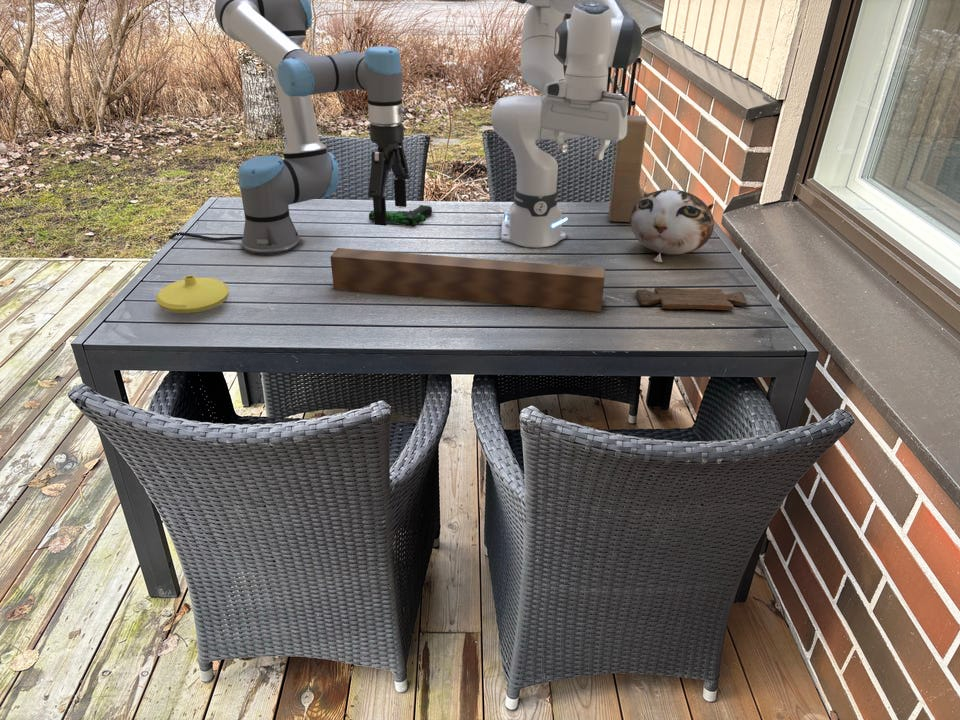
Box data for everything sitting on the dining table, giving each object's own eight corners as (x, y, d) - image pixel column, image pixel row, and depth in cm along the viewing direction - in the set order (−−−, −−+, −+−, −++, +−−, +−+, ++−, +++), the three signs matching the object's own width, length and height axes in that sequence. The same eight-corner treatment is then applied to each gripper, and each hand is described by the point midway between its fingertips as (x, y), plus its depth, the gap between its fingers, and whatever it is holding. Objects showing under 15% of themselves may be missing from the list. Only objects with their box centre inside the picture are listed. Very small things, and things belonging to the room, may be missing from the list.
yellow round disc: (203, 285, 174) (198, 258, 170) (245, 302, 166) (240, 274, 162) (144, 308, 163) (137, 279, 159) (186, 328, 155) (179, 298, 151)
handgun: (437, 205, 219) (415, 219, 207) (438, 215, 220) (415, 229, 208) (391, 199, 224) (366, 212, 212) (391, 208, 226) (367, 222, 214)
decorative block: (659, 224, 215) (674, 122, 200) (609, 221, 217) (620, 119, 201) (657, 216, 221) (672, 116, 206) (608, 213, 223) (619, 114, 208)
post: (333, 289, 173) (330, 256, 169) (340, 280, 178) (337, 247, 173) (600, 311, 165) (604, 277, 160) (601, 301, 169) (604, 268, 165)
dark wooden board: (752, 313, 165) (739, 295, 174) (753, 306, 165) (741, 288, 173) (640, 309, 166) (633, 291, 174) (641, 302, 165) (634, 284, 173)
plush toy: (610, 241, 188) (634, 172, 190) (626, 265, 204) (648, 200, 205) (693, 258, 178) (718, 184, 179) (703, 281, 193) (726, 213, 195)
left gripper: (381, 137, 147) (387, 234, 158) (420, 112, 168) (422, 200, 179) (348, 134, 149) (355, 231, 160) (390, 110, 170) (394, 197, 181)
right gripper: (636, 93, 146) (629, 161, 153) (554, 82, 157) (550, 146, 164) (621, 96, 142) (613, 166, 148) (537, 85, 153) (534, 150, 160)
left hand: (391, 215), depth 169 cm, fingers open, 13 cm apart
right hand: (579, 155), depth 156 cm, fingers open, 8 cm apart
